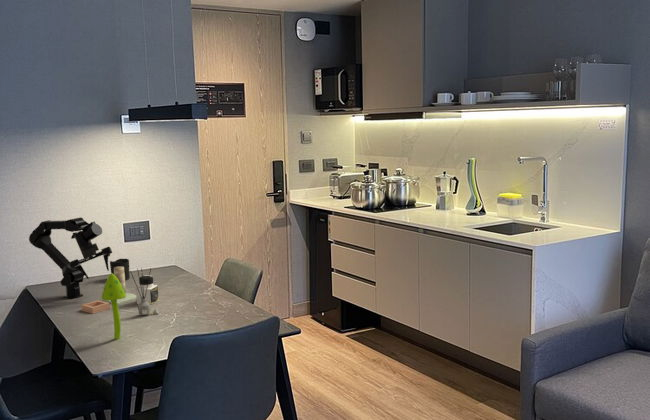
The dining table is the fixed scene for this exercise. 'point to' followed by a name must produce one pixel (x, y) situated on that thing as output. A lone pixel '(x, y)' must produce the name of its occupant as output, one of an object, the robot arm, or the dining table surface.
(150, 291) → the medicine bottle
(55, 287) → the dining table surface
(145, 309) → the reed diffuser
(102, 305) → the terracotta socket
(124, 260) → the pen holder
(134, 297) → the sage board
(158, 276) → the dining table surface
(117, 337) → the mushroom
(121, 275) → the beige ribbed peg
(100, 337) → the dining table surface
